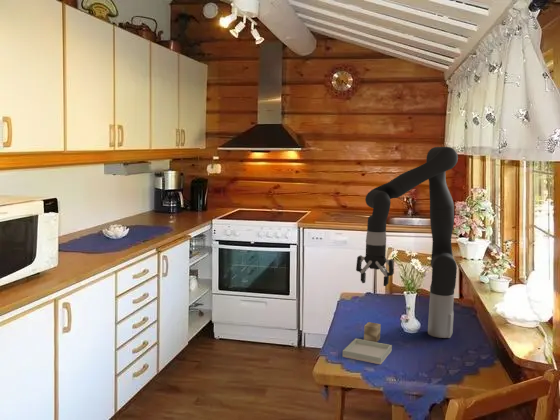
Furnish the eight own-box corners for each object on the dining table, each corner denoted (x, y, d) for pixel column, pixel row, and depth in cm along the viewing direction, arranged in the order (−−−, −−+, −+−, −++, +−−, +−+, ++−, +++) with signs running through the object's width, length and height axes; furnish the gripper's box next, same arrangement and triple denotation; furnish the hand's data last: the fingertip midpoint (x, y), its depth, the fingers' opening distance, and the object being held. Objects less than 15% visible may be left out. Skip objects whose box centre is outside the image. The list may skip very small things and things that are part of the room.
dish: (391, 351, 204) (391, 345, 203) (380, 364, 191) (380, 358, 191) (355, 344, 210) (355, 338, 210) (342, 356, 198) (342, 350, 197)
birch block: (380, 338, 216) (380, 324, 216) (376, 342, 212) (376, 327, 211) (367, 336, 219) (368, 322, 218) (363, 340, 214) (364, 325, 213)
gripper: (397, 243, 211) (395, 284, 213) (361, 239, 217) (359, 279, 219) (391, 246, 204) (389, 289, 206) (354, 242, 210) (353, 283, 212)
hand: (374, 284), depth 213 cm, fingers open, 8 cm apart
